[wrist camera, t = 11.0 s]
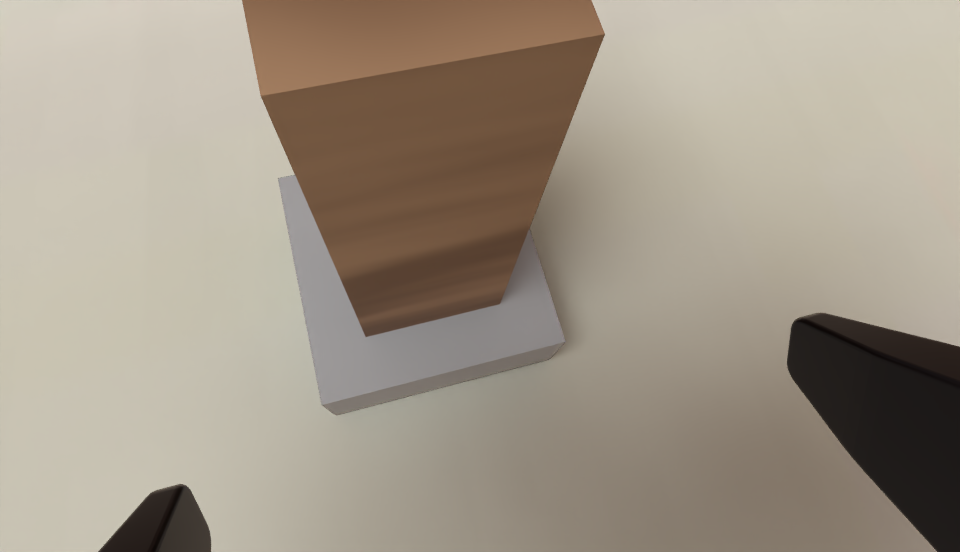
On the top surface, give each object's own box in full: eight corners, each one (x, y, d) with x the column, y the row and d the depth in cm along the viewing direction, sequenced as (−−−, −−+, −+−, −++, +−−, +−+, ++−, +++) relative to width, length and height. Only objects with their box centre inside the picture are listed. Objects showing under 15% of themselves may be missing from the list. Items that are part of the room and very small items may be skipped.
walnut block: (499, 303, 20) (604, 34, 8) (365, 337, 20) (261, 95, 7) (464, 185, 22) (510, -202, 10) (337, 212, 21) (209, -168, 9)
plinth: (549, 359, 23) (565, 341, 20) (335, 415, 22) (321, 405, 19) (491, 173, 25) (499, 133, 23) (295, 213, 24) (277, 178, 21)
